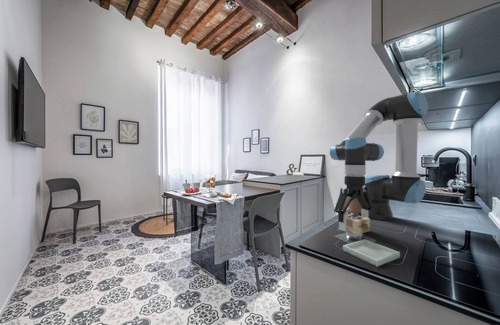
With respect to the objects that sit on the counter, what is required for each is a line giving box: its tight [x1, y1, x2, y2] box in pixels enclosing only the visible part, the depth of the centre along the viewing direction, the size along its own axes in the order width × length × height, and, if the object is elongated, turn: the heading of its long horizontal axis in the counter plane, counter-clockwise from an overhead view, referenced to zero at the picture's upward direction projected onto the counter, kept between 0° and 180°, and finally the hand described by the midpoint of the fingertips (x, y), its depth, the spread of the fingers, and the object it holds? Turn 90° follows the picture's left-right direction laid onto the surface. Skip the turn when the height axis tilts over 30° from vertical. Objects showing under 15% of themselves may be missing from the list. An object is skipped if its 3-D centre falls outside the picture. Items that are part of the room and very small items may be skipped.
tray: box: [342, 239, 401, 267], centre depth 72 cm, size 12×12×2 cm
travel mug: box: [347, 198, 363, 216], centre depth 96 cm, size 8×8×20 cm
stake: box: [333, 213, 377, 244], centre depth 85 cm, size 11×11×11 cm
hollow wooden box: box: [345, 214, 371, 234], centre depth 84 cm, size 8×9×5 cm
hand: (353, 227), depth 85 cm, fingers open, 13 cm apart
